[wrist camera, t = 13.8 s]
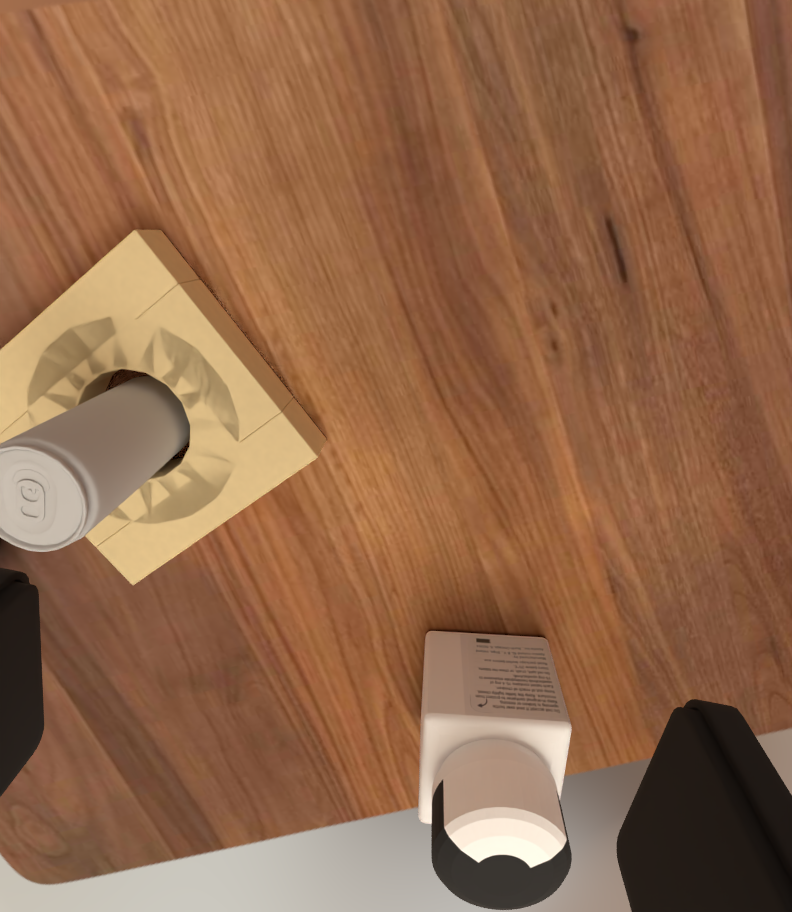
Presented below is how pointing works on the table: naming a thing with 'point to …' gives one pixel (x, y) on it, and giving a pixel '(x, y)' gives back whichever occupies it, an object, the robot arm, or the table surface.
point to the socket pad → (187, 375)
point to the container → (494, 767)
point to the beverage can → (86, 462)
